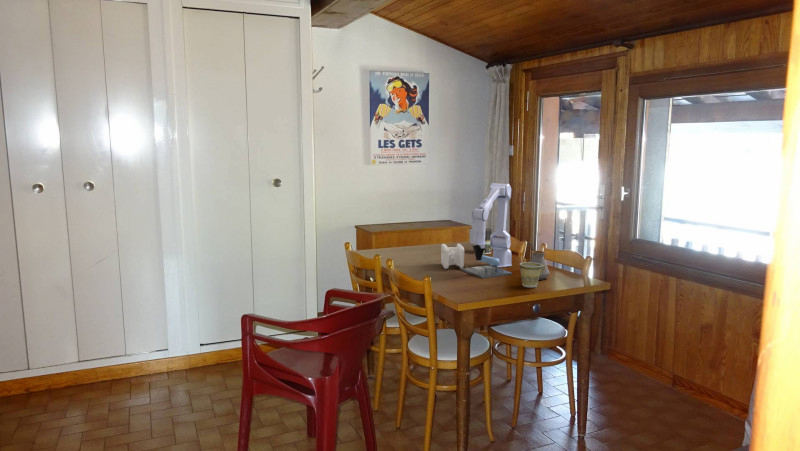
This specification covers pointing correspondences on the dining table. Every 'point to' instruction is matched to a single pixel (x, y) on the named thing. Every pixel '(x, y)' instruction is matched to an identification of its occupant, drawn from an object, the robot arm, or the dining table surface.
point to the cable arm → (490, 260)
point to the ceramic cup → (530, 273)
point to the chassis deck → (487, 275)
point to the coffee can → (487, 241)
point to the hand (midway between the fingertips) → (478, 260)
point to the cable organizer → (452, 256)
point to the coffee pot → (539, 261)
